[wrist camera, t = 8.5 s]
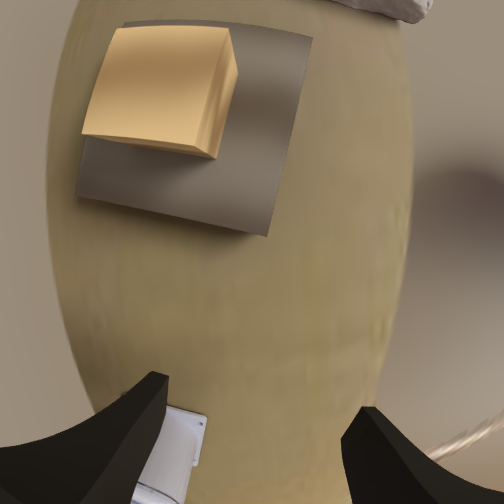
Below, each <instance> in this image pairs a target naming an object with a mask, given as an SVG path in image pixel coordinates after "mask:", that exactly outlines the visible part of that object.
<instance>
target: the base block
mask: <svg viewBox="0 0 504 504" xmlns="http://www.w3.org/2000/svg"><path fill="white" fill-rule="evenodd" d="M144 26H207V27H220V28H229V33H230V37H231V42H232V47H233V51H234V56H235V61H236V65H237V70H238V77H237V80H236V84H235V87H234V91H233V95H232V99H231V102H230V106H229V110H228V114H227V118H226V122H225V126H224V130H223V134H222V138H221V142H220V146H219V150H218V155H217V159H213V158H208V157H202V156H196V155H191V154H184V153H178V152H172V151H165V150H158V149H151V148H143V147H135V146H129V145H125V144H122V143H118V142H114V141H110V140H106V139H102V138H97V137H93V136H89V135H86V137H85V142H84V147H83V152H82V157H81V162H80V168H79V174H78V180H77V187H76V194H75V196H79V197H85V198H90V199H95V200H100V201H105V202H110V203H115V204H119V205H124V206H129V207H134V208H139V209H144V210H148V211H153V212H158V213H163V214H167V215H172V216H177V217H181V218H186V219H190V220H195V221H199V222H204V223H209V224H213V225H217V226H222V227H226V228H231V229H235V230H240V231H244V232H248V233H253V234H257V235H261V236H266V237H267V234H268V230H269V226H270V222H271V218H272V214H273V209H274V205H275V201H276V197H277V193H278V188H279V184H280V180H281V176H282V171H283V167H284V163H285V159H286V154H287V150H288V146H289V141H290V137H291V133H292V128H293V124H294V120H295V115H296V111H297V107H298V102H299V98H300V93H301V89H302V84H303V80H304V76H305V71H306V67H307V62H308V57H309V53H310V48H311V44H312V39H313V37H309V36H305V35H301V34H297V33H292V32H288V31H283V30H278V29H273V28H267V27H262V26H255V25H248V24H241V23H232V22H221V21H207V20H149V21H135V22H125V23H124V25H123V27H122V28H130V27H144Z"/></svg>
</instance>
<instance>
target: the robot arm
mask: <svg viewBox="0 0 504 504" xmlns="http://www.w3.org/2000/svg"><path fill="white" fill-rule="evenodd" d="M168 382H169V376H168V375H164V374H161V373H158V372H154V371H152V372H149V373H148V374H147V375H146V376H145V377H144V378H143V379H142V380H141V381H140V382H139V383H137V384H136V385H135V386H134V387H133V388H131V389H130V390H129V391H128V392H126V393H124V394H123V396H121V397H120V398H119V399H117V400H116V401H115V402H113V403H112V404H111V405H109V406H108V407H106V408H105V409H103V410H102V411H100V412H99V413H97V414H95V415H94V416H92V417H91V418H89V419H87V420H85V421H84V422H82V423H80V424H78V425H76V426H74V427H72V428H69V429H67V430H65V431H62V432H60V433H58V434H55V435H53V436H50V437H47V438H44V439H41V440H37V441H33V442H29V443H25V444H21V445H16V446H10V447H3V448H2V447H1V448H0V504H184V500H185V496H186V492H187V487H188V483H189V478H190V474H191V470H192V466H197V464H198V460H199V455H200V450H201V445H202V441H203V436H204V431H205V426H206V422H207V418H206V417H205V416H204V415H201V414H197V413H193V412H189V411H185V410H181V409H177V408H174V407H170V406H167V395H168ZM200 422H201V423H200ZM341 450H342V460H343V465H344V469H345V473H346V477H347V482H348V486H349V490H350V494H351V499H352V503H353V504H504V493H503V492H499V491H495V490H491V489H487V488H484V487H481V486H478V485H475V484H472V483H470V482H468V481H466V480H464V479H462V478H460V477H458V476H456V475H454V474H452V473H450V472H449V471H447V470H446V469H444V468H442V467H441V466H439V465H438V464H437V463H435V462H434V461H433V460H431V459H430V458H429V457H427V456H426V455H425V454H424V453H423V452H422V451H420V450H419V449H418V448H417V447H416V446H415V445H414V444H413V443H412V442H410V441H409V440H408V439H407V438H406V437H405V436H404V435H403V434H402V433H401V432H400V431H399V430H398V429H397V428H396V427H395V426H394V425H393V424H392V423H391V422H390V421H389V420H388V419H387V418H386V417H385V416H384V415H383V414H382V413H381V412H380V411H379V410H378V409H377V408H376V407H363V406H362V407H361V409H360V410H359V412H358V413H357V415H356V417H355V418H354V420H353V421H352V423H351V424H350V426H349V427H348V429H347V430H346V432H345V433H344V435H343V436H342V438H341Z"/></svg>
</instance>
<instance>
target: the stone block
mask: <svg viewBox="0 0 504 504" xmlns="http://www.w3.org/2000/svg"><path fill="white" fill-rule="evenodd" d="M331 1H335V2H338V3H341V4H343V5H346V6H348V7H351V8H354V9H361V10H367V11H370V12H379V13H381V14H385V15H387V16H389V17H392V18H395V19H397V20H402V21H404V22H406V23H410V24H415V23H418V22H419V21H420V20H421V19H423V18H425V16H426V15H427V13H428V12H429V11H430V8H431V6H432V4H433V0H331Z"/></svg>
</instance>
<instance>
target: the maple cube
mask: <svg viewBox="0 0 504 504" xmlns="http://www.w3.org/2000/svg"><path fill="white" fill-rule="evenodd" d="M237 77H238V70H237V65H236V61H235V56H234V51H233V47H232V42H231V37H230V33H229V28H220V27H207V26H144V27H130V28H120V29H116V32H115V34H114V36H113V39H112V41H111V43H110V46H109V48H108V50H107V53H106V56H105V58H104V61H103V63H102V66H101V69H100V72H99V75H98V77H97V80H96V83H95V87H94V90H93V93H92V96H91V99H90V103H89V106H88V110H87V114H86V118H85V121H84V126H83V130H82V134H85V135H89V136H93V137H97V138H102V139H106V140H110V141H114V142H118V143H122V144H125V145H129V146H135V147H143V148H151V149H158V150H165V151H172V152H178V153H184V154H191V155H196V156H202V157H208V158H213V159H217V155H218V150H219V146H220V142H221V138H222V134H223V130H224V126H225V122H226V118H227V114H228V110H229V106H230V102H231V99H232V95H233V91H234V87H235V84H236V80H237Z"/></svg>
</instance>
